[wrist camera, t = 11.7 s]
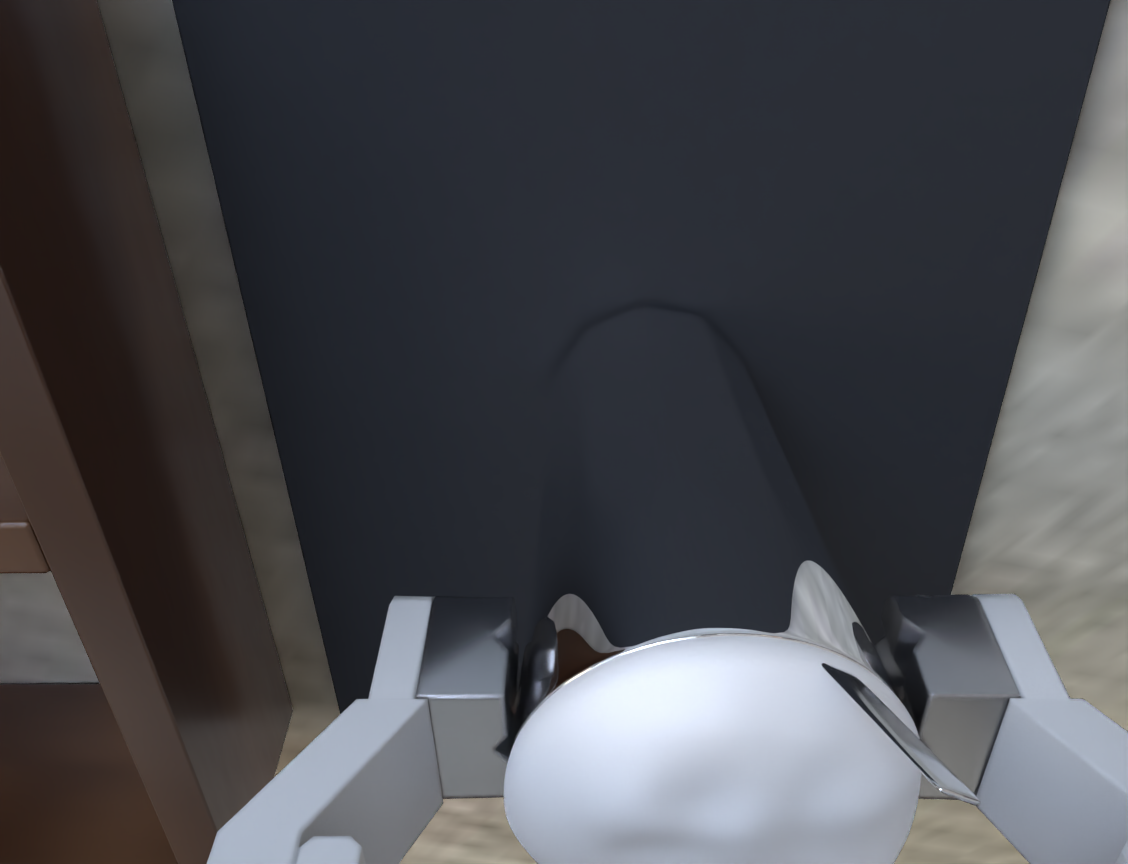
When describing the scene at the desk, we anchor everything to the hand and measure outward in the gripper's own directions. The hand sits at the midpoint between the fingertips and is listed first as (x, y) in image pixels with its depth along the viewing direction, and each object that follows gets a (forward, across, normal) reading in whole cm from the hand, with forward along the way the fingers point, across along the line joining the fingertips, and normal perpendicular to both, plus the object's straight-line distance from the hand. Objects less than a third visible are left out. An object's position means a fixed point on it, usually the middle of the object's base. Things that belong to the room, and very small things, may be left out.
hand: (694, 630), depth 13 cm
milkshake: (+6, 0, 0) cm, 6 cm away
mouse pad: (+6, +1, 0) cm, 7 cm away
